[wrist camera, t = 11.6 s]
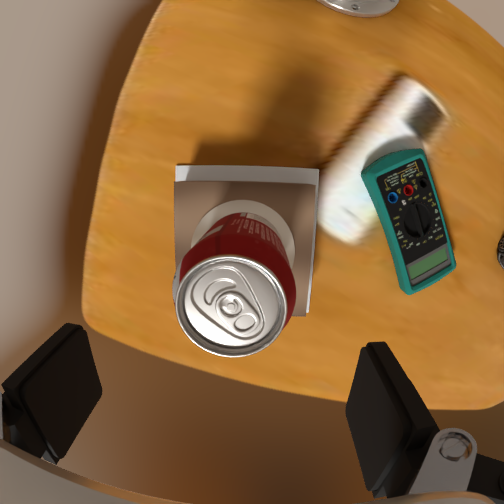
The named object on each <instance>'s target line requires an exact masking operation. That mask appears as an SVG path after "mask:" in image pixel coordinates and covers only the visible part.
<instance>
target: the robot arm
mask: <svg viewBox="0 0 504 504" xmlns="http://www.w3.org/2000/svg"><path fill="white" fill-rule="evenodd" d="M317 1H318V2H320V3H322V4H323V5H325V6H327V7H329V8H331V9H333V10H335V11H338V12H341V13H344V14H347V15H352V16H356V17H377V16H382V15H384V14H386V13H389V12H390V11H391V10H392V9H393V8H394V7H395V6H396V5H397V4H398V2H399V0H317ZM2 387H3V389H4V391H5V392H4V393H3V394H2V393H1V392H0V504H189V503H182V502H177V501H171V500H166V499H160V498H156V497H152V496H147V495H143V494H139V493H134V492H131V491H127V490H123V489H119V488H116V487H113V486H110V485H107V484H103V483H100V482H97V481H94V480H91V479H88V478H86V477H83V476H80V475H77V474H74V473H72V472H70V471H67V470H65V469H62V468H60V467H58V466H55V465H57V463H58V461H59V459H62V458H63V457H64V456H65V455H66V453H67V451H68V450H69V448H70V446H71V445H72V443H73V441H74V440H75V438H76V436H77V435H78V433H79V431H80V430H81V428H82V427H83V425H84V423H85V422H86V420H87V418H88V417H89V415H90V414H91V412H92V410H93V409H94V407H95V405H96V404H97V402H98V401H99V399H100V398H101V395H102V386H101V383H100V380H99V377H98V373H97V370H96V366H95V363H94V359H93V356H92V352H91V348H90V344H89V340H88V336H87V332H86V331H85V330H83V327H82V326H80V325H77V324H71V323H66V324H64V325H63V326H62V327H61V328H60V329H59V330H58V331H57V332H55V333H54V334H53V335H52V336H51V337H50V338H49V339H48V340H47V341H46V342H45V343H44V344H42V345H41V346H40V347H39V348H38V349H37V350H36V351H35V352H34V353H33V354H32V355H31V356H30V357H29V358H28V359H27V360H26V361H24V363H22V365H20V366H19V367H18V368H17V369H16V370H15V371H14V372H13V373H12V374H11V375H10V376H9V377H8V378H7V379H6V380H5V381H4V382H3V383H2ZM346 417H347V420H348V424H349V428H350V431H351V434H352V438H353V441H354V445H355V448H356V452H357V456H358V459H359V463H360V466H361V470H362V474H363V478H364V481H365V485H366V488H367V490H368V491H372V493H373V496H374V498H379V497H383V496H387V499H381V500H375V501H370V502H364V503H357V504H504V462H502V461H499V460H496V459H492V458H489V457H486V456H483V455H480V454H477V445H476V442H475V440H474V438H473V437H472V436H471V435H470V434H469V433H467V432H466V431H463V430H461V429H456V428H447V429H444V430H441V431H440V430H439V428H438V426H437V424H436V423H435V421H434V419H433V417H432V416H431V414H430V412H429V410H428V409H427V407H426V405H425V404H424V402H423V400H422V398H421V397H420V395H419V393H418V392H417V390H416V389H415V387H414V385H413V384H412V382H411V381H410V379H409V378H408V377H407V375H406V374H405V372H404V370H403V369H402V367H401V366H400V364H399V362H398V361H397V359H396V358H395V356H394V354H393V353H392V351H391V350H390V348H389V347H388V345H387V344H386V342H369V343H367V345H366V347H362V349H361V351H360V355H359V360H358V364H357V368H356V372H355V375H354V379H353V383H352V387H351V390H350V394H349V397H348V401H347V404H346ZM41 457H43V458H44V459H45V460H47V461H49V462H51V463H53V464H55V465H53V464H51V463H48V462H46V461H44V460H42V459H41Z"/></svg>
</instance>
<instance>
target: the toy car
mask: <svg viewBox="0 0 504 504" xmlns="http://www.w3.org/2000/svg"><path fill="white" fill-rule="evenodd" d="M498 249H499V251H500V252H498V255H497V258H498V261H499V263H500V265H501V266H502V268H503V269H504V237H503V238H502V239H501V240H500V242H499V244H498Z"/></svg>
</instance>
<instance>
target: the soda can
mask: <svg viewBox="0 0 504 504" xmlns="http://www.w3.org/2000/svg"><path fill="white" fill-rule="evenodd" d="M173 300H174V304H175V309H176V315H177V318H178V321H179V324H180V326H181V328H182V329H183V331H184V332H185V334H186V335H187V336H188V337H189V338H190V339H191V340H192V341H193V342H194V343H195V344H196V345H198V346H199V347H200V348H202V349H204V350H206V351H208V352H210V353H213V354H216V355H219V356H224V357H243V356H248V355H252V354H255V353H257V352H259V351H261V350H263V349H265V348H266V347H268V346H269V345H270V344H271V343H272V342H273V341H274V340H275V339H276V338H277V337H278V336H279V334H280V333H281V331H282V330H283V328H284V327H285V326H286V325H287V323H288V321H289V320H290V318H291V316H292V313H293V311H294V307H295V303H296V284H295V280H294V276H293V273H292V270H291V267H290V264H289V260H288V257H287V254H286V251H285V248H284V245H283V242H282V239H281V237H280V234H279V233H278V231H277V230H276V228H275V227H274V226H273V225H272V224H271V223H270V222H269V221H268V220H266V219H265V218H263V217H261V216H259V215H256V214H253V213H247V212H238V213H233V214H229V215H227V216H225V217H223V218H221V219H220V220H218V221H217V222H216V223H215V224H214V225H213V226H212V227H211V228H210V229H209V230H208V231H207V232H206V233H205V234H204V235H203V236H202V237H201V238H200V240H199V241H198V242H197V243H196V244H195V245H194V246H193V247H192V248H191V249H190V250H189V251H188V252H187V254H186V255H185V256H184V257H183V259H182V260H181V262H180V263H179V265H178V267H177V270H176V272H175V276H174V280H173Z"/></svg>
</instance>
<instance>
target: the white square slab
mask: <svg viewBox="0 0 504 504" xmlns="http://www.w3.org/2000/svg"><path fill="white" fill-rule="evenodd" d="M176 181H260V182H285V183H305V184H313V185H316V191H315V210H314V227H313V241H312V255H311V267H310V278H309V289H308V299H307V309H306V313H308V312H309V303H310V293H311V283H312V272H313V261H314V248H315V235H316V220H317V203H318V182H319V169H310V168H293V167H272V166H236V165H191V166H176Z"/></svg>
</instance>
